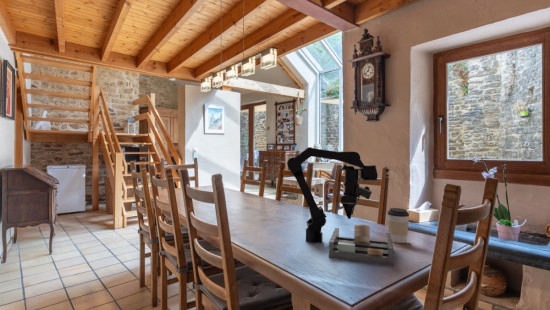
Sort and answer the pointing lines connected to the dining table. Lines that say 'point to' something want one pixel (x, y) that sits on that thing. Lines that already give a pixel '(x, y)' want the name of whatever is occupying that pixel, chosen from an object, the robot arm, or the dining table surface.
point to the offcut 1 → (346, 247)
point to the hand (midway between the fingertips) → (350, 216)
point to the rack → (362, 250)
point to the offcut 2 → (375, 251)
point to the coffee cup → (398, 224)
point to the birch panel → (362, 233)
